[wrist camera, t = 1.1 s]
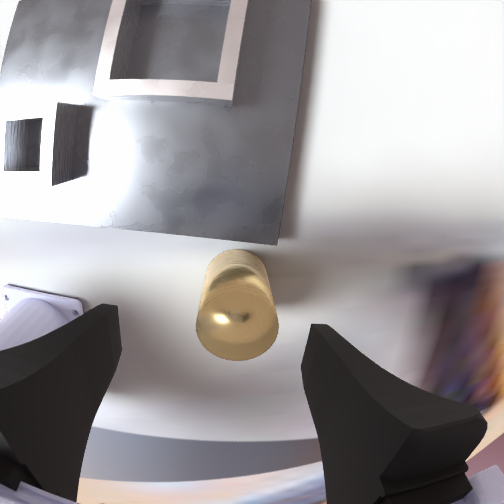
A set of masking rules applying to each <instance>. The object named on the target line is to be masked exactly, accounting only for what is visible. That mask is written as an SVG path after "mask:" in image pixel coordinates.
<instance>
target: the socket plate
mask: <svg viewBox="0 0 504 504" xmlns="http://www.w3.org/2000/svg"><path fill="white" fill-rule="evenodd" d="M310 7H311V0H21V1H19V3H18V6H17V9H16V12H15V15H14V18H13V22H12V25H11V29H10V33H9V37H8V40H7V45H6V49H5V53H4V58H3V62H2V67H1V73H0V217H4V218H15V219H25V220H36V221H46V222H57V223H67V224H77V225H88V226H98V227H108V228H118V229H127V230H137V231H147V232H157V233H166V234H176V235H185V236H194V237H204V238H213V239H222V240H231V241H241V242H250V243H259V244H268V245H277V243H278V237H279V231H280V224H281V218H282V212H283V205H284V199H285V192H286V186H287V179H288V172H289V166H290V159H291V152H292V145H293V138H294V131H295V124H296V117H297V110H298V102H299V95H300V87H301V80H302V72H303V64H304V57H305V49H306V40H307V32H308V24H309V15H310Z"/></svg>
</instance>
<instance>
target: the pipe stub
mask: <svg viewBox="0 0 504 504" xmlns="http://www.w3.org/2000/svg"><path fill="white" fill-rule="evenodd" d="M278 329H279V323H278V318H277V314H276V309H275V305H274V301H273V296H272V292H271V288H270V284H269V279H268V275H267V271H266V268H265V266H264V264H263V262H262V261H261V260H260V259H259V258H258V257H257V256H256V255H254V254H253V253H251V252H248V251H245V250H240V249H234V250H228V251H225V252H223V253H221V254H219V255H217V256H216V257H215V258H214V259H213V260H212V261H211V263H210V264H209V266H208V268H207V272H206V276H205V281H204V286H203V291H202V296H201V301H200V306H199V311H198V316H197V321H196V331H197V335H198V338H199V340H200V342H201V343H202V345H203V346H204V347H205V348H206V349H207V350H208V351H209V352H211V353H212V354H214V355H215V356H217V357H220V358H223V359H226V360H232V361H243V360H249V359H252V358H255V357H257V356H259V355H261V354H263V353H264V352H265V351H267V350H268V349H269V348H270V347H271V346H272V344H273V343H274V341H275V339H276V337H277V334H278Z"/></svg>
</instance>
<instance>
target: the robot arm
mask: <svg viewBox="0 0 504 504" xmlns="http://www.w3.org/2000/svg"><path fill="white" fill-rule="evenodd" d="M2 294H3V299H4V304H5V308H6V314H5V315H4V316H3V317H2V318H1V319H0V504H80V503H76V501H77V492H78V484H79V478H80V472H81V467H82V462H83V457H84V453H85V449H86V444H87V440H88V437H89V433H90V430H91V426H92V423H93V420H94V418H95V415H96V413H97V410H98V408H99V406H100V404H101V402H102V399H103V397H104V395H105V393H106V391H107V389H108V386H109V384H110V382H111V380H112V378H113V376H114V373H115V371H116V368H117V365H118V362H119V358H120V355H121V351H122V347H121V338H120V329H119V318H118V307H117V306H116V305H109V304H101V305H99V306H97V307H95V308H93V309H91V310H89V311H88V312H86V313H84V314H83V308H82V304H81V302H80V301H79V300H77V299H73V298H68V297H62V296H57V295H52V294H47V293H42V292H37V291H32V290H27V289H23V288H18V287H13V286H9V285H5V286H4V287H2ZM7 296H8V297H9V298H8V297H7ZM75 310H76V311H77V312H78V313H76V312H75ZM301 372H302V379H303V386H304V390H305V394H306V398H307V401H308V404H309V408H310V411H311V414H312V418H313V421H314V424H315V428H316V431H317V435H318V439H319V443H320V449H321V456H322V462H323V470H324V478H325V487H326V499H327V504H504V475H503V473H502V472H501V470H500V469H499V467H498V465H494V466H492V467H489V468H487V469H485V470H483V471H481V472H478V473H476V474H474V475H473V476H471V477H470V478H469V479H467V477H466V475H465V472H467V470H468V466H467V464H466V462H465V460H466V459H467V458H468V457H469V456H470V454H471V453H472V452H473V451H474V449H475V448H476V447H477V446H478V444H479V443H480V442H481V440H482V439H483V437H484V435H485V433H486V430H487V422H486V420H485V419H484V417H483V416H482V414H481V413H480V412H479V410H478V409H477V407H476V406H474V405H469V404H465V403H461V402H457V401H453V400H449V399H446V398H443V397H440V396H437V395H434V394H432V393H429V392H426V391H424V390H422V389H420V388H417V387H415V386H413V385H411V384H409V383H407V382H405V381H403V380H401V379H399V378H398V377H396V376H394V375H393V374H391V373H389V372H388V371H386V370H384V369H383V368H381V367H380V366H379V365H377V364H376V363H374V362H373V361H372V360H370V359H369V358H368V357H366V356H365V355H364V354H362V353H361V352H360V351H359V350H357V349H356V348H355V347H354V346H353V345H351V344H350V343H349V342H348V341H347V340H346V339H344V338H343V337H342V336H341V335H340V334H338V333H337V332H336V331H335V330H334V329H332V328H331V327H330V326H328V325H327V324H311V328H310V332H309V336H308V340H307V344H306V348H305V352H304V356H303V360H302V364H301ZM101 504H104V503H101Z"/></svg>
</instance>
